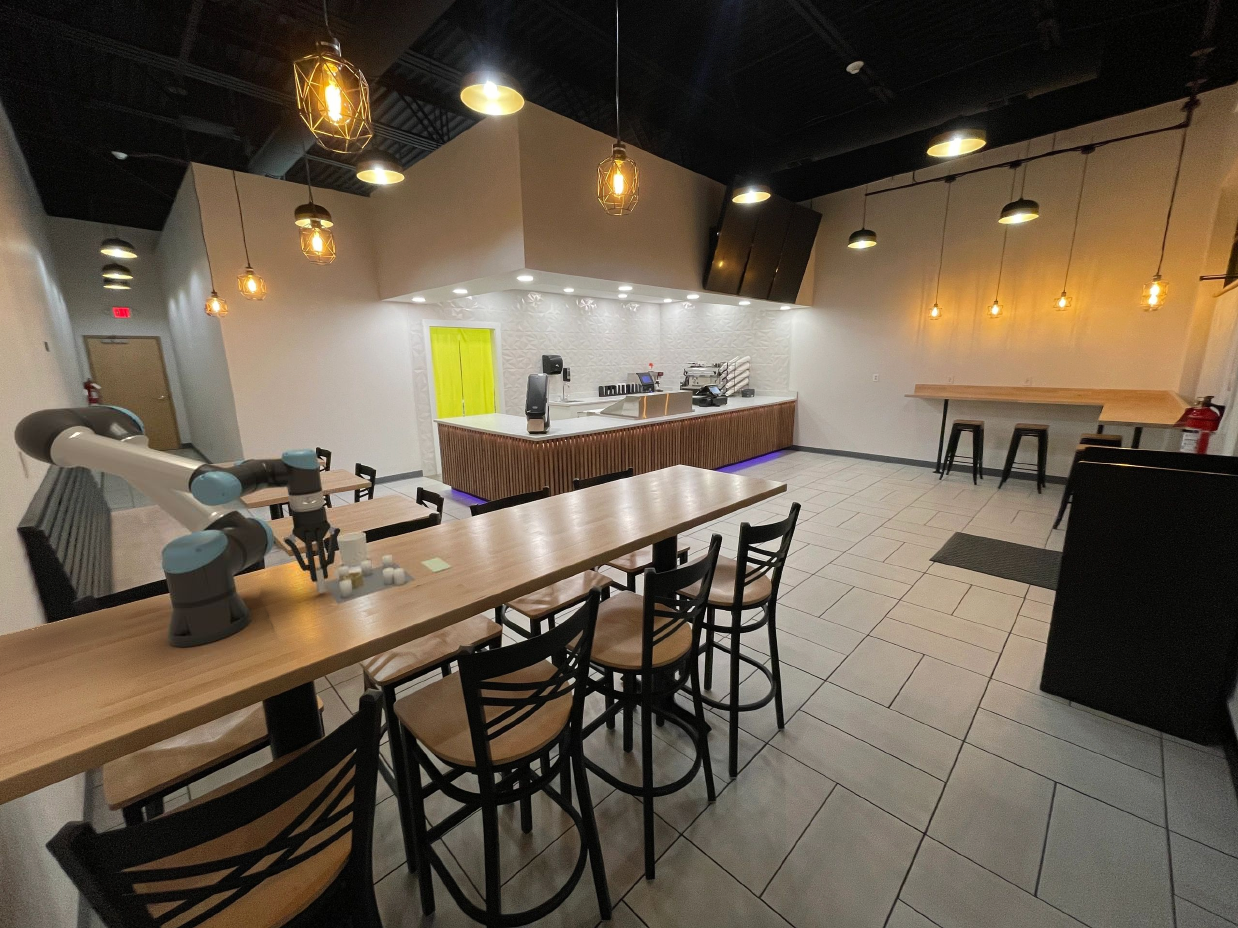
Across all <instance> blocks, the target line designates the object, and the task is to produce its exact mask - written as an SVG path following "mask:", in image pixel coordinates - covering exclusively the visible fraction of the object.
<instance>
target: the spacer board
mask: <svg viewBox="0 0 1238 928" xmlns="http://www.w3.org/2000/svg"><path fill="white" fill-rule="evenodd" d="M381 560H382V561H381V562H382V566H378V567H375V568H372V567H373V566H372V561H371V559H369V560H368V559H367V560H365V561H362V562H361V563H360V564H361V565H360V568H361V569H360V570H361V571H359V572H360V573H361V574H362V576H363V585H362V586H360V587H358V588H355V589H352V583H351V580H350V579H347V580H343V576H345V575H347V574H349V573H350V567H348V566H344V565H343V566H340V567H337V574H338V575H337V576H338V577H337V578H334V579H330V580H327V581H324V582H325V588H326V590H328V592H329V593H330V595H331V597H333V599H334V600H335V602H336V603H337V604H340V603H341V604H342V603H344V602H348V601H351V600H355V599H358V598H361V597H364V596H368V595H370V594H374V593H376V592H381V591H384V590H386V589H390V588H393V587H397V586H401V585H404V584H407V583H410V582H413V581H416V578H414V577H413V576H412V575H411V574H410V573H408V572H407V571H405V569H404V568H403V567H401V566H400V565H399V564H397V563H396V562H394V560H393V555H392V554H385V555H383V556H381Z"/></svg>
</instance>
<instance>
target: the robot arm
mask: <svg viewBox="0 0 1238 928" xmlns="http://www.w3.org/2000/svg"><path fill="white" fill-rule="evenodd" d="M13 437H14V442H15V444H16V445H17V447H18V449H20V450H21V451H22V452H23V453H24V454H25V455H27V456H29V457H30V458H32V459H35V460H37V461H39V462H42V463H45V464H49V465H52V466H58V467H61V468H67V469H70V468H71V469H72V468H76V467H77V468H78V467H82V468H86V469H90V470H94V471H98V472H102V473H106V474H110V475H112V476H113V475H114V476H118V477H121V478H122V479H123V480H124V481H126V482H127V483H128V484H130V486H132V487H133V488H135V489H136V490H137V491H138V492H140V493H141V494H142V495H144V496H145V497H146V498H147V499H149V501H152V502H153V504H155V505H156V506H158V507H159V508H160V509H161V510H163V511H164V512H165V513H166V514H168V516H170V517H171V518H173V520H175V521H176V522H178V523H179V524H180V525H181V526H183V527H184V528H186V529H187V530H188V531H189V532H190V534H185V535H182V536H181V537H178V538H175V539H174V540H173V539H172V541H170V542H168V543H167V544H166V545H165V546H164V547H163V548H162V551H161V560H162V561H161V566H162V570H163V572H164V577H165V579H166V580H165V581H166V585H167V589H168V593H169V598H170V600H171V606H172V611H171V612H172V613H171V617H170V622H169V627H168V629H167V636H168V641H169V644H170V645H171V646H173V647H176V648H177V647H180V648H187V647H189V648H190V647H195V646H201V645H206V644H208V643H209V644H210V643H213V642H216V641H220V640H222V639H225V638H227V637H229V636H232V635H234V634H236V633H237V632H239V631H241V630H243V629H244V628H245V627H247V626H248V625H249V624H250V623H251V621H252V616H251V611H250V609H249V607H248V605H247V604H246V603H245V601H244V600H243V599H242V597H241V596H240V595H239V593H238V591H237V586H236V582H235V576H234V575H236V574H238V573H240V572H242V571H243V570H245V569H246V568H248V567H250V566H251V565H253V564H256V563H258V562H260V561H261V560H262V559H263V558H264V557H267V555H268V554H269V553H270V552H271V551H272V549H273V546H274V545H275V540H274V539H275V537H274V536H275V534H274V530H273V529H272V527H271V526H270V525H269V524H268V523H267V521H266V520H264V519H261V518H259V517H246V516H245V515H243V514H242V513H241V512H240V511H238V510H237V509H226V508H224V507H223V506H222V505H224V504H228V503H231V502H233V501H235V500H238V499H240V498H243V497H246V496H248V495H251V494H254V493H256V492H259V491H262V490H266V489H274V488H286V489H287V493H288V499H289V507H290V509H291V510H292V511H291V516H292V517H291V518H292V523H293V529H292V530H291V531H292V532H291V534H290V535H288V536H286V537H284V538H283V542H284V543H285V544H286V545H287V546H288V547H290V550H291V551H292V554H293V555H294V557H295V560H296V562H297V563H298V565H299V567H300V569H301V570H302V571H303V572H306V571H307V572H308V571H309V575H310V580H311V581H312V582H313V583H316V589H317V590H316V591H318V593H319V594H323V593H325V592H326V593H327V588H326V587H325V582H326V581H325V580H326V579H329V571H328V567H329V566H330V565H333V564H334V562H335V556H336V547H337V543H338V541H337V538H338V537H339V534H340V532H341V529H340V528H339V527H338V526H333V525H331V523H330V522H329V521H328V517H327V510H326V507H325V506H324V505H325V498H324V491H323V486H322V481H321V480H322V479H321V478H322V477H321V474H320V463H319V461H318V460H319V459H318V456H317V452H316V451H315V450H314V449H312V448H311V449H310V448H299V449H290V450H286V451H283V452H282V453H281V458H269V459H268V458H264V459H263V458H262V459H261V458H260V459H254V458H251V459H245V460H239V461H238V460H237V461H235V463H234V464H233V465H232V466H229V467H223V466H219V465H215V464H211V463H207V462H204V461H199V460H195V459H191V458H187V457H184V456H181V455H175V454H172V453H169V452H165V451H161V450H156V449H154V448H150V447H149V441H150V439H149V437H147V435H146V429H145V428H144V423H143V422H142V420H141V419H140V418H139V417H138V416H137V415H136V414H135V413H133V412H132V411H130V410H129V409H126V408H123V407H120V406H117V405H116V406H115V405H102V404H99V405H96V404H95V405H87V406H85V407H83V406H81V407H66V408H65V407H64V408H50V409H49V408H46V409H42V410H37V411H35V412H32V413H29V414H28V415H26V416H25V417H23V418H22V419H21V420H20V421H19V422H18V423H17V424H16V427H15V429H14V436H13ZM328 532H329V540H328V541H329V542H328V550H327V555H326V551H325V545H324V543H325V542H324V539H325V536H326V535H327V534H328ZM296 539H299V540H300V541H301V542H303V543H304V546H305V551H306V552H305V553H306V558H307V563H306V562H305V559H304V558H303V556H302V554H301V552H300V551H299V548H298V547H297V545H296V542H297V540H296ZM314 542H315V543H316V550H317V557H318V561H319V562H318V563H319V566H317V567H316V562H315V555H314V549H313V548H314V547H313V543H314ZM326 556H327V557H326Z"/></svg>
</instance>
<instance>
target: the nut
mask: <svg viewBox="0 0 1238 928" xmlns="http://www.w3.org/2000/svg"><path fill="white" fill-rule="evenodd" d="M360 572H361V571H356V572H349V574H347V575H345V576H343V580H347V579H350V580H351V583H352V589H355V588H358V587H360V586H362V585H363V576H362V574H361V573H360Z"/></svg>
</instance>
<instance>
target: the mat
mask: <svg viewBox="0 0 1238 928" xmlns="http://www.w3.org/2000/svg"><path fill="white" fill-rule="evenodd" d="M420 563H421V564H422V565H424V566H425V567H426V568H428V569H429V570H431V571H432V573H433V572H434V573H435V574H436V573H439V572H442V571H445V570H449V569H452V568H453V567H452V566H451V565H450V564H448V563H447V562H445V561H444V560H442V559H441V558H439V557H435V558H431V559H427V560H424V561H420Z"/></svg>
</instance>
